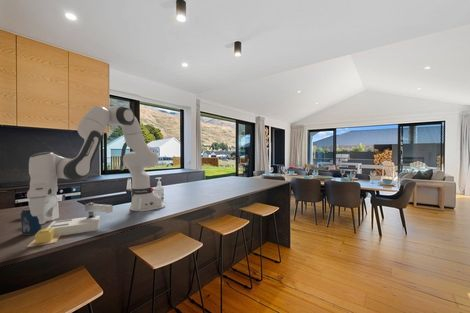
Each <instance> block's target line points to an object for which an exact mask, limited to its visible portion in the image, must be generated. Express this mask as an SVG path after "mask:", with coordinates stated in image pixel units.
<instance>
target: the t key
mask: <svg viewBox="0 0 470 313" xmlns="http://www.w3.org/2000/svg"><path fill="white" fill-rule="evenodd" d="M84 211H85V212H88V217H94V216H95V215H94V213H101V214H102V213H103V214H110V213H113V211H114V210H113V204H102V203H101V204H99V203H95V202H88V203H86V204H84Z"/></svg>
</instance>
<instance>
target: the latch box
mask: <svg viewBox="0 0 470 313" xmlns="http://www.w3.org/2000/svg"><path fill="white" fill-rule="evenodd" d="M100 225H101V215H94V217H89V216H86V217H85V216H84V217H83V216H82V217H78V218H77V217H75V218H68V219H60V220H53V221H52V222H51V223H50V224H49V225H48V226H46V228H45V229H47V228H52V229H53V228H54V236H56V235H61V236H68V235H74V234H80V233H87V232H88V233H89V232H95V231H98V230H99V228H100ZM61 236H60V237H61Z"/></svg>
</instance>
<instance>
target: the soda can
mask: <svg viewBox="0 0 470 313" xmlns="http://www.w3.org/2000/svg"><path fill="white" fill-rule="evenodd" d="M20 226H21V227H20V228H21V229H20V230H21V231H20V232H21V234H22V235H24V236H30V235H35V234H36V233H37V232H38V231H39V230H41V229H42V224H39V220H38V218H37V216H32V215H31V212H30V207H29V206H28V207H25V208H23V209H22V210H21V212H20Z"/></svg>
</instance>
